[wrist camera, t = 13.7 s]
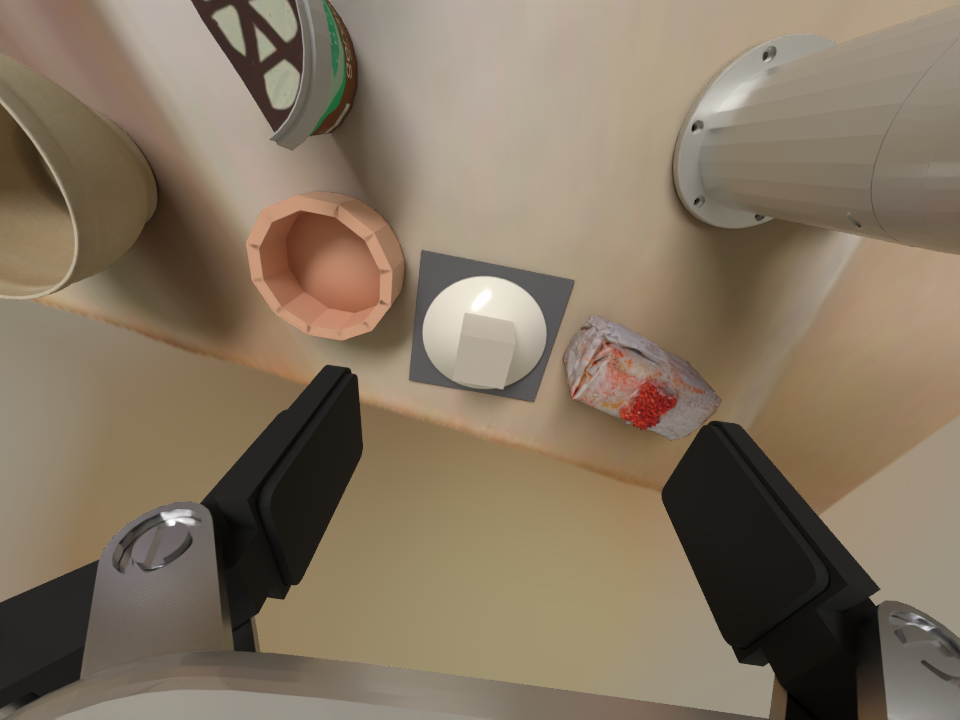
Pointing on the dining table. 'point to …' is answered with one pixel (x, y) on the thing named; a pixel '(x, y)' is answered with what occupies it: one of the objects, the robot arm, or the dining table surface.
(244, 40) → the food container
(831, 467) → the dining table surface
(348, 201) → the bowl
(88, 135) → the planter bowl
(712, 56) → the dining table surface
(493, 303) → the lid
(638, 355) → the food item
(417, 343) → the mat
